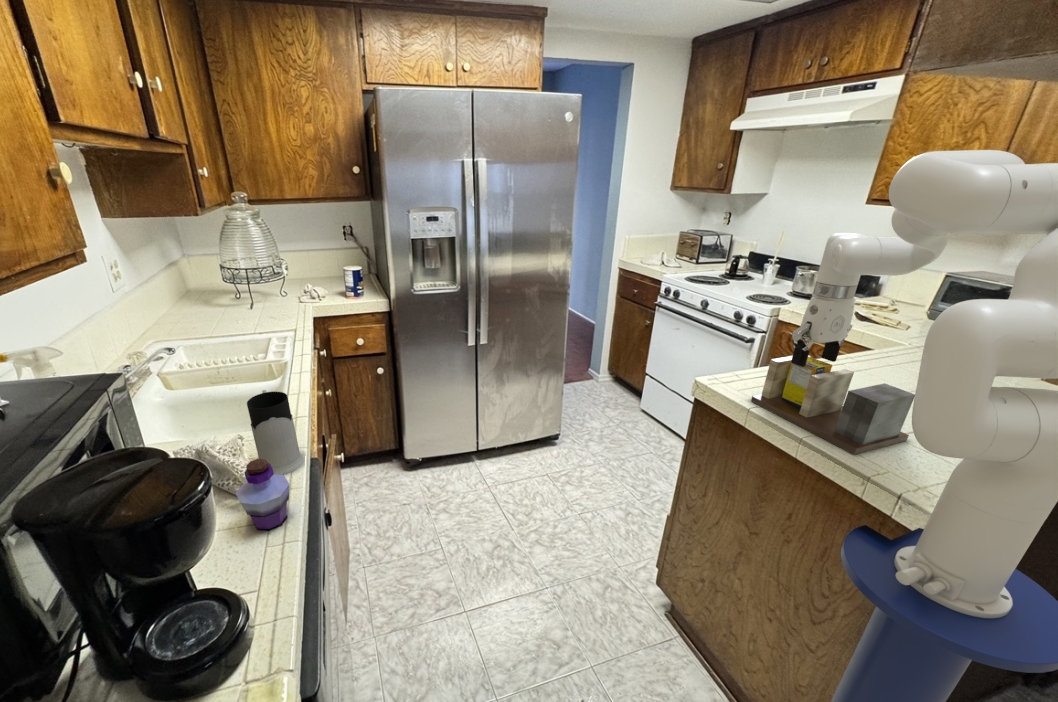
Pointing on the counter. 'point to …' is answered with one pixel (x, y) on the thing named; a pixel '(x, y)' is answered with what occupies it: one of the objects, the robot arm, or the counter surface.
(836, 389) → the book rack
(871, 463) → the counter surface
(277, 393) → the glass holder
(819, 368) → the supplement box
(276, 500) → the potion bottle
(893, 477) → the counter surface
